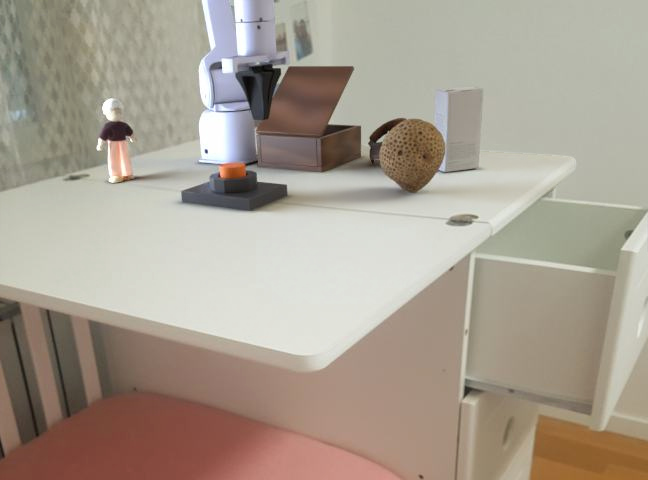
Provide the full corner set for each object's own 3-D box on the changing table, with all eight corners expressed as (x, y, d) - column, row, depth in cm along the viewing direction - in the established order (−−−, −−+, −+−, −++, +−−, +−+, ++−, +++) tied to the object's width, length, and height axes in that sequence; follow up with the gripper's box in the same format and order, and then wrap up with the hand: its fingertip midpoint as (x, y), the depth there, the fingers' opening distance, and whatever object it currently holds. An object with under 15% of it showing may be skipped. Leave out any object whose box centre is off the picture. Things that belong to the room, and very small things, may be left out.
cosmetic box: (465, 164, 115) (470, 85, 110) (480, 169, 112) (485, 87, 106) (430, 168, 114) (434, 88, 109) (444, 173, 110) (448, 90, 105)
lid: (290, 68, 124) (288, 66, 123) (354, 68, 117) (353, 66, 117) (256, 133, 119) (255, 131, 119) (321, 137, 113) (320, 135, 112)
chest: (300, 152, 132) (299, 122, 129) (361, 156, 125) (361, 125, 123) (258, 166, 122) (256, 134, 119) (321, 172, 115) (320, 138, 113)
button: (215, 179, 99) (214, 166, 99) (230, 173, 102) (229, 161, 101) (235, 181, 98) (234, 168, 97) (251, 175, 100) (250, 163, 100)
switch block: (182, 202, 101) (179, 178, 99) (221, 189, 108) (219, 165, 106) (250, 211, 95) (248, 185, 93) (287, 196, 101) (286, 171, 100)
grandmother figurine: (117, 184, 114) (105, 101, 108) (98, 183, 115) (86, 101, 110) (147, 174, 120) (137, 95, 114) (129, 173, 121) (118, 95, 116)
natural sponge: (434, 202, 95) (437, 124, 90) (370, 198, 98) (370, 123, 94) (448, 186, 102) (452, 114, 98) (388, 183, 105) (389, 113, 101)
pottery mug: (438, 171, 114) (417, 128, 109) (384, 197, 117) (361, 156, 113) (430, 139, 123) (410, 98, 118) (380, 164, 126) (359, 125, 122)
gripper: (248, 23, 96) (254, 127, 102) (305, 18, 107) (308, 113, 112) (207, 24, 99) (215, 125, 105) (266, 20, 110) (271, 112, 116)
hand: (260, 119), depth 109 cm, fingers closed
